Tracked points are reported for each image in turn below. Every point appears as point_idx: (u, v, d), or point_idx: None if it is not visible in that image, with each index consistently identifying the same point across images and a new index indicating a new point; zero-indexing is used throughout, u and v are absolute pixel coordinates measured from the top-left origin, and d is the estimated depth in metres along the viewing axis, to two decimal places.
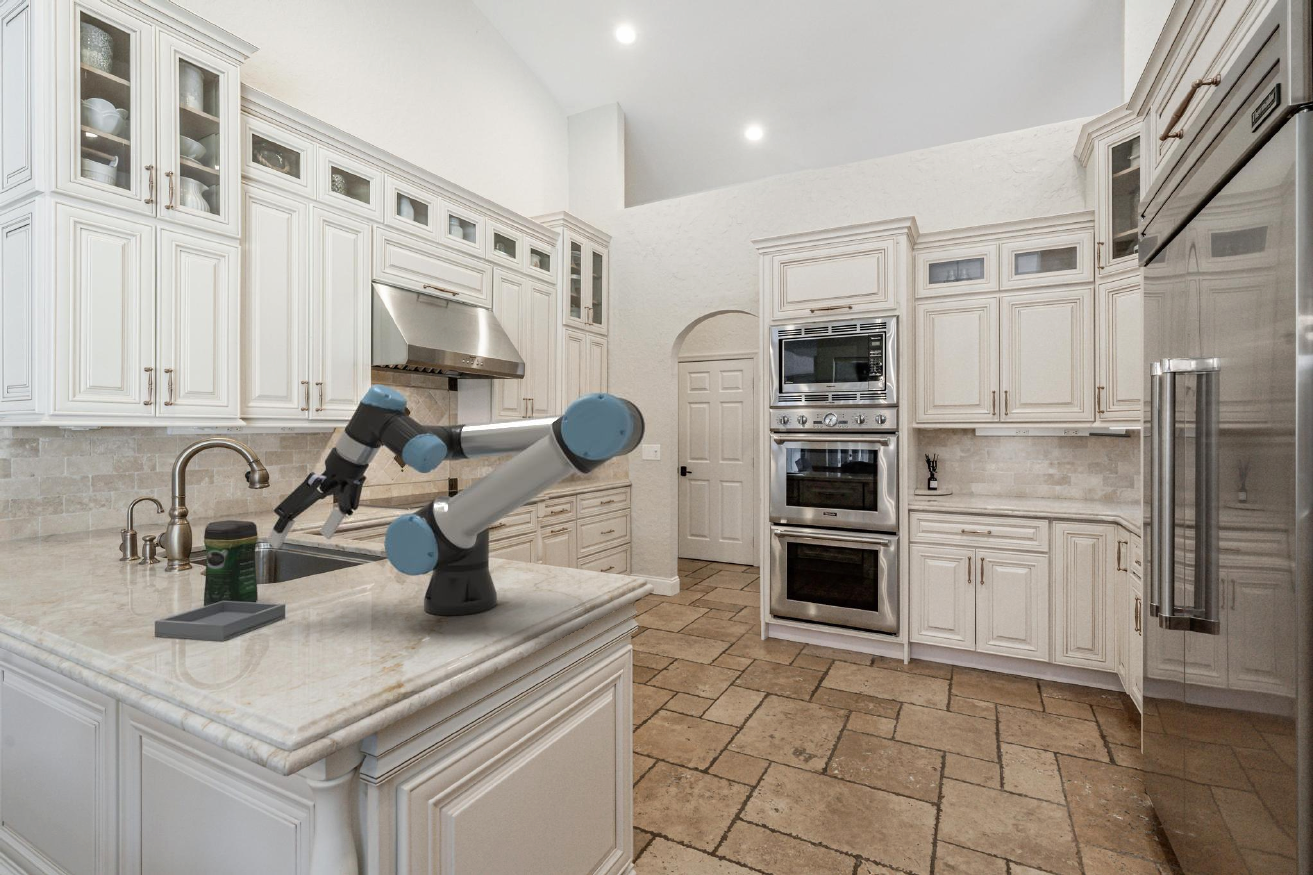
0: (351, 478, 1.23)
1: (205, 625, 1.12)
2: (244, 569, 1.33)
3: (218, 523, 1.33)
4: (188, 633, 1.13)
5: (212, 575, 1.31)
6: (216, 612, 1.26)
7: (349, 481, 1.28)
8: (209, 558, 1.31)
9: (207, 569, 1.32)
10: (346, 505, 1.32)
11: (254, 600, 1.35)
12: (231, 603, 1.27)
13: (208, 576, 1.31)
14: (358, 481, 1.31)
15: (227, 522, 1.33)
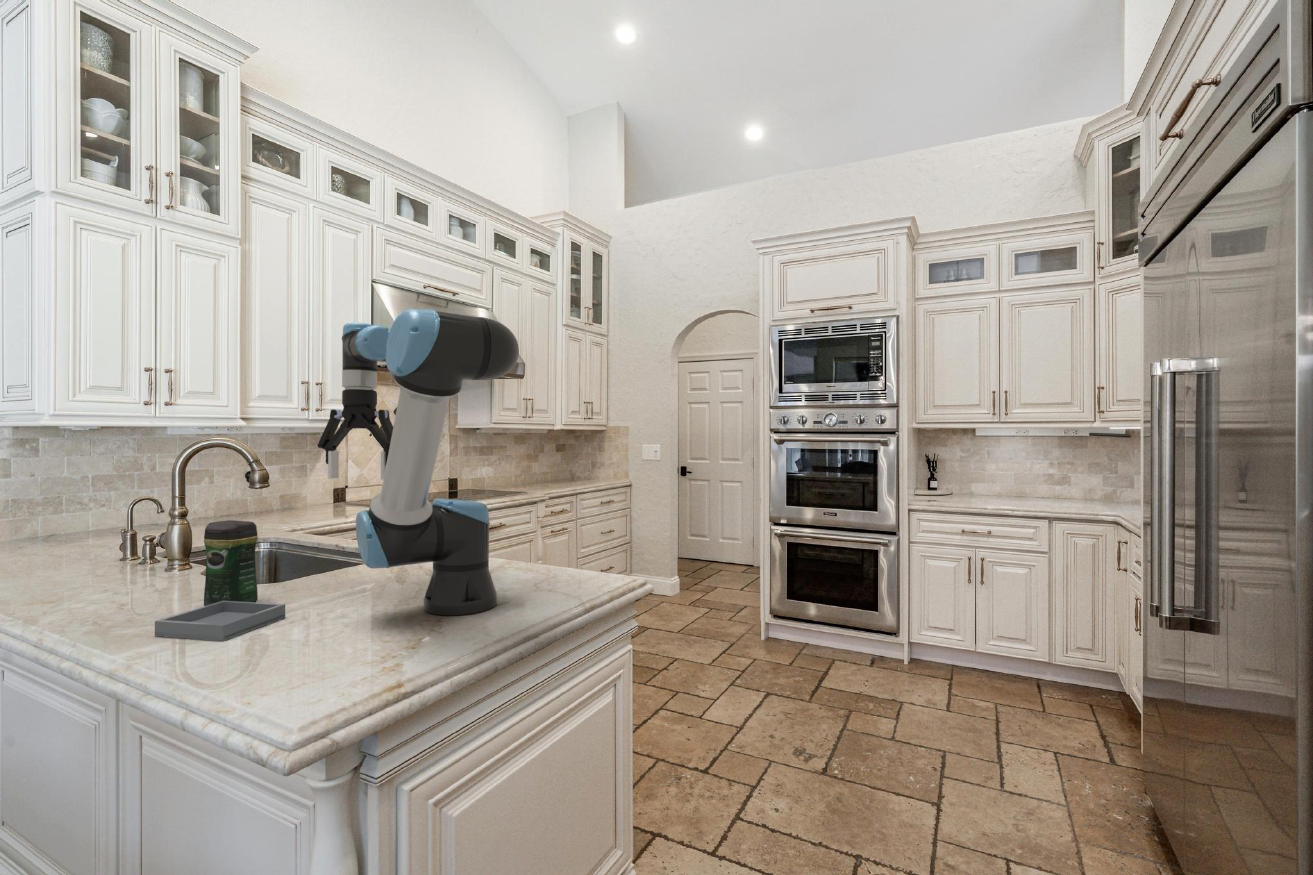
0: (345, 402, 1.44)
1: (205, 625, 1.12)
2: (243, 569, 1.33)
3: (218, 523, 1.33)
4: (188, 633, 1.13)
5: (212, 575, 1.31)
6: (216, 612, 1.26)
7: (365, 414, 1.46)
8: (209, 558, 1.31)
9: (207, 569, 1.32)
10: (379, 441, 1.45)
11: (254, 600, 1.35)
12: (231, 603, 1.27)
13: (208, 576, 1.31)
14: None
15: (227, 522, 1.33)
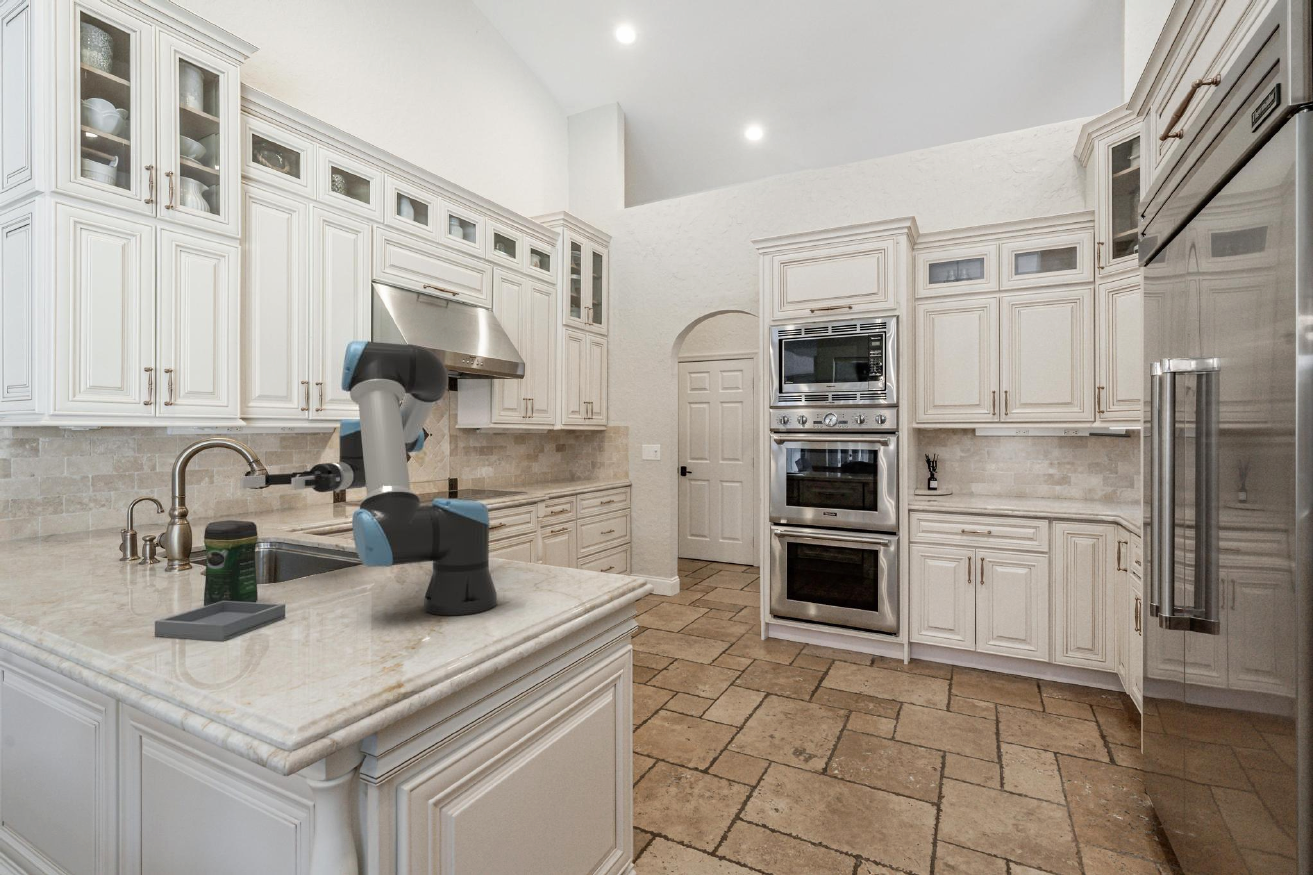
0: (317, 464, 1.62)
1: (205, 625, 1.12)
2: (243, 569, 1.33)
3: (218, 523, 1.33)
4: (188, 633, 1.13)
5: (212, 575, 1.31)
6: (216, 612, 1.26)
7: (322, 474, 1.59)
8: (209, 558, 1.31)
9: (207, 569, 1.32)
10: None
11: (254, 600, 1.35)
12: (231, 603, 1.27)
13: (208, 576, 1.31)
14: None
15: (227, 522, 1.33)
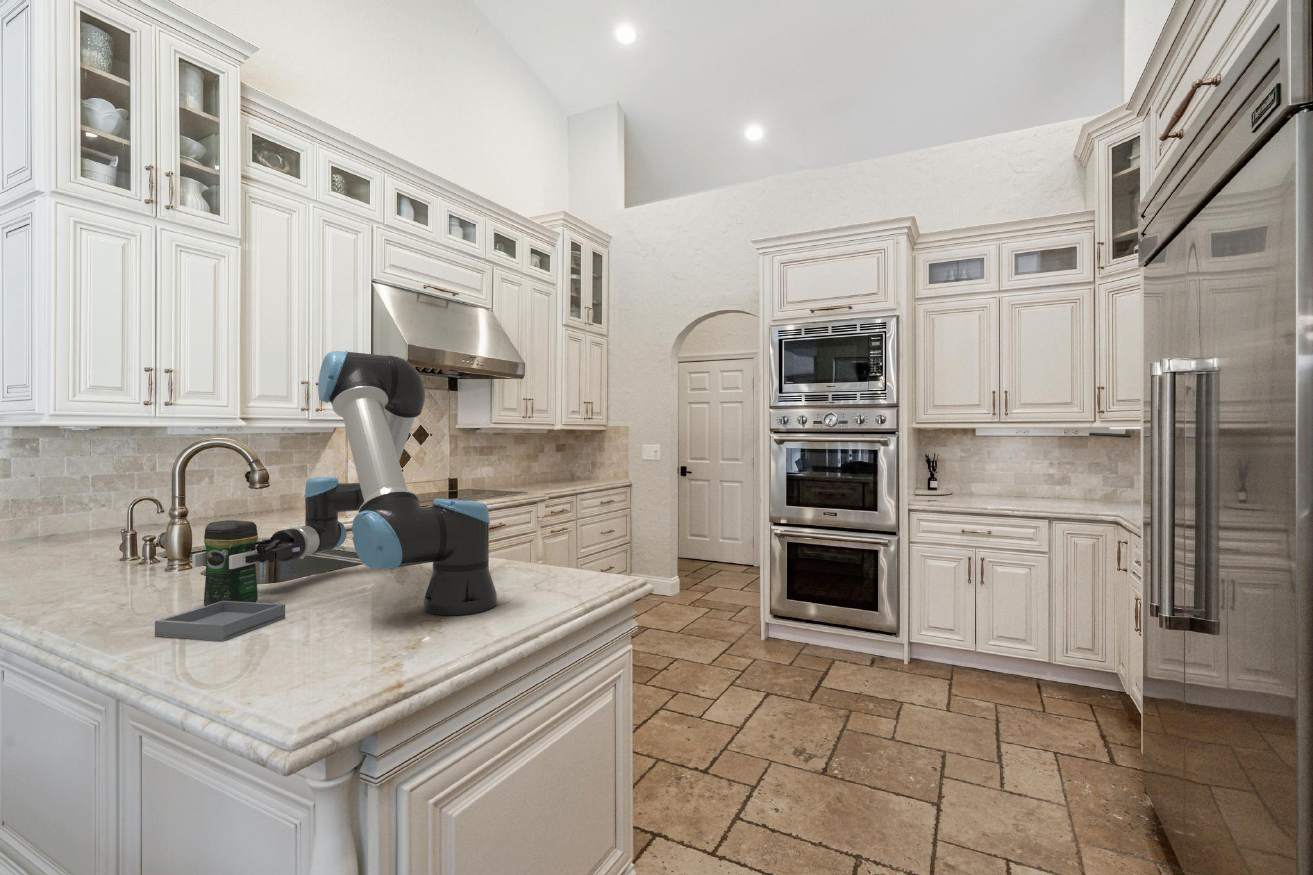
0: (278, 531, 1.49)
1: (205, 625, 1.12)
2: (244, 569, 1.33)
3: (218, 523, 1.33)
4: (188, 633, 1.13)
5: (212, 575, 1.31)
6: (216, 612, 1.26)
7: (283, 543, 1.46)
8: (209, 558, 1.31)
9: (207, 569, 1.32)
10: (264, 548, 1.38)
11: (254, 600, 1.35)
12: (231, 603, 1.27)
13: (208, 576, 1.31)
14: None
15: (227, 522, 1.33)
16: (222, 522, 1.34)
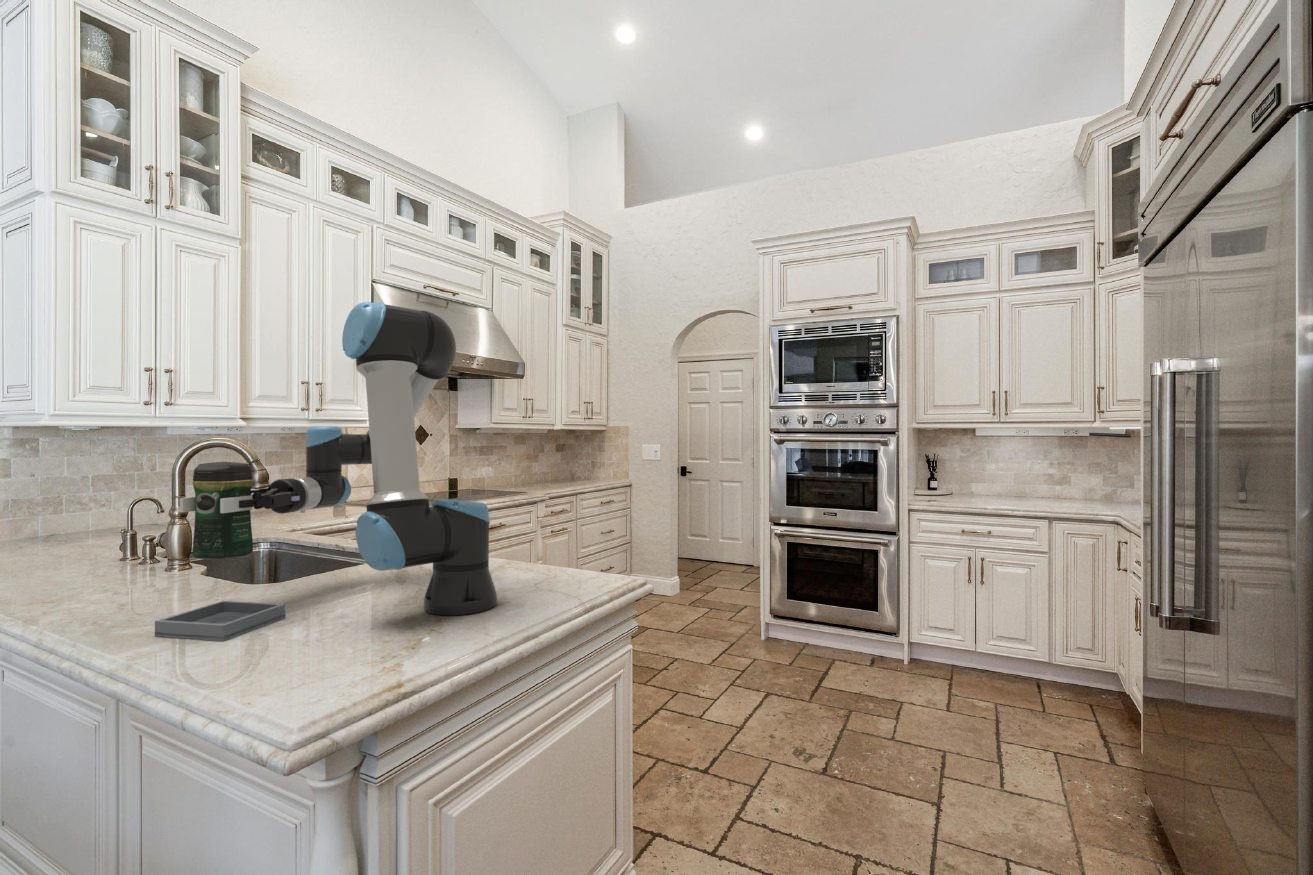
0: (276, 480, 1.36)
1: (205, 625, 1.12)
2: (237, 515, 1.19)
3: (209, 464, 1.20)
4: (188, 633, 1.13)
5: (202, 521, 1.17)
6: (216, 612, 1.26)
7: (281, 492, 1.32)
8: (198, 502, 1.18)
9: (196, 514, 1.18)
10: (260, 495, 1.25)
11: (249, 550, 1.21)
12: (231, 603, 1.27)
13: (197, 522, 1.18)
14: None
15: (219, 463, 1.20)
16: (213, 463, 1.20)
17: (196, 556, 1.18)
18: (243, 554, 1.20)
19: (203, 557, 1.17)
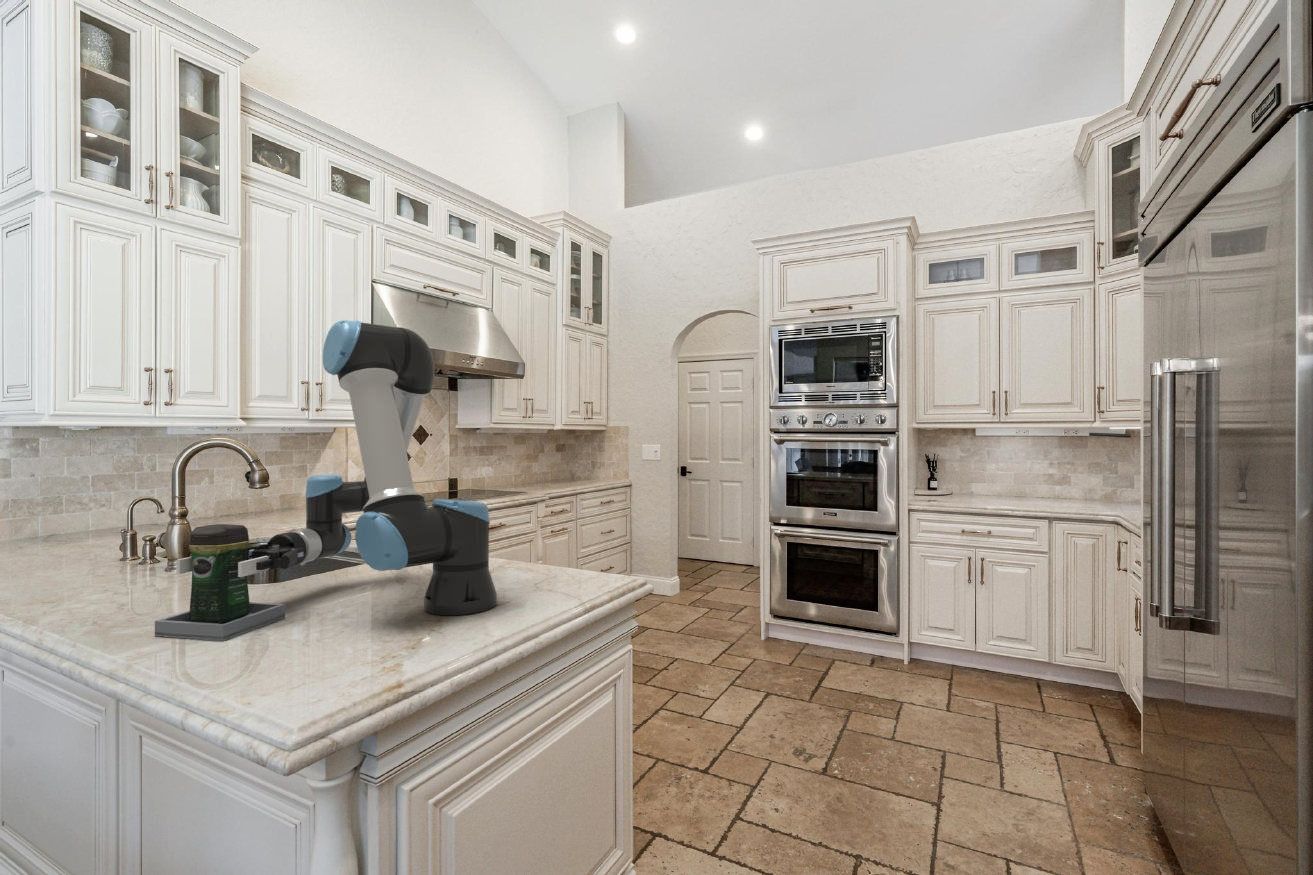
0: None
1: (205, 625, 1.12)
2: (233, 578, 1.20)
3: (205, 527, 1.21)
4: (188, 633, 1.13)
5: (199, 585, 1.18)
6: None
7: (282, 548, 1.31)
8: (195, 566, 1.18)
9: (193, 578, 1.18)
10: None
11: (245, 612, 1.21)
12: None
13: (194, 586, 1.18)
14: None
15: (215, 526, 1.21)
16: (209, 526, 1.21)
17: (193, 620, 1.18)
18: (240, 617, 1.20)
19: (200, 621, 1.18)
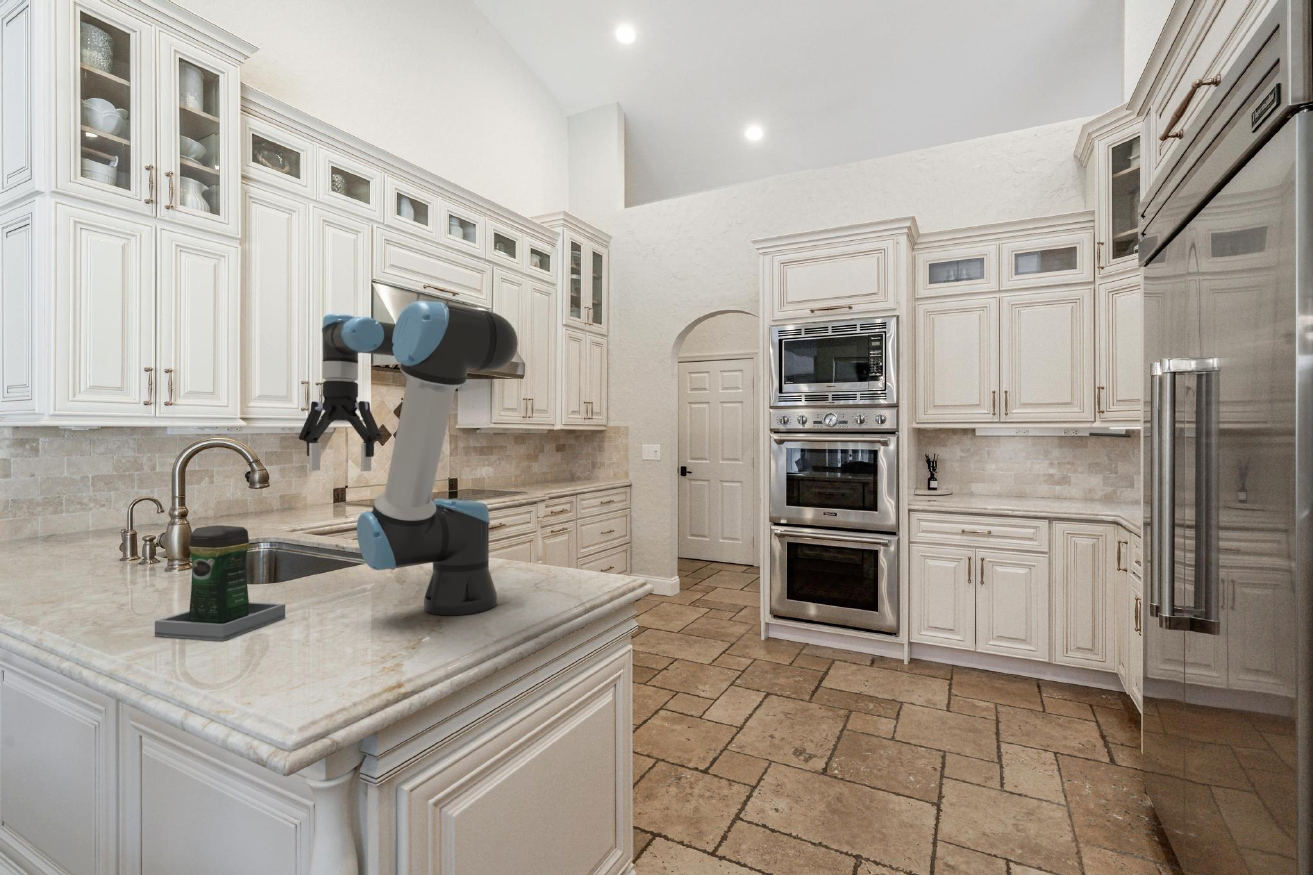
0: (325, 393, 1.44)
1: (205, 625, 1.12)
2: (232, 580, 1.19)
3: (205, 528, 1.20)
4: (188, 633, 1.13)
5: (198, 587, 1.18)
6: None
7: (346, 405, 1.45)
8: (195, 567, 1.18)
9: (192, 580, 1.18)
10: (359, 433, 1.45)
11: (245, 614, 1.21)
12: None
13: (193, 588, 1.18)
14: None
15: (215, 527, 1.20)
16: (209, 527, 1.20)
17: (192, 621, 1.18)
18: None
19: None
